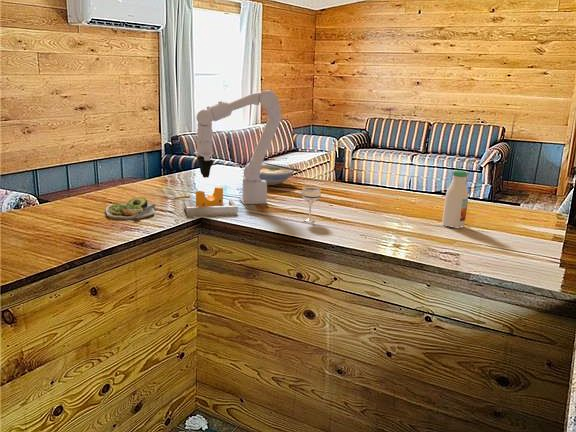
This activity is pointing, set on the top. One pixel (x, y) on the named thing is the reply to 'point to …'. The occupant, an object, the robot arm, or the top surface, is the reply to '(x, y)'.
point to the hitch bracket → (211, 210)
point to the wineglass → (310, 196)
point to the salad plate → (131, 209)
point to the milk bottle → (456, 200)
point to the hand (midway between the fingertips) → (204, 175)
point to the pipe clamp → (209, 198)
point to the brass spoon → (182, 196)
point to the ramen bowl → (275, 173)
